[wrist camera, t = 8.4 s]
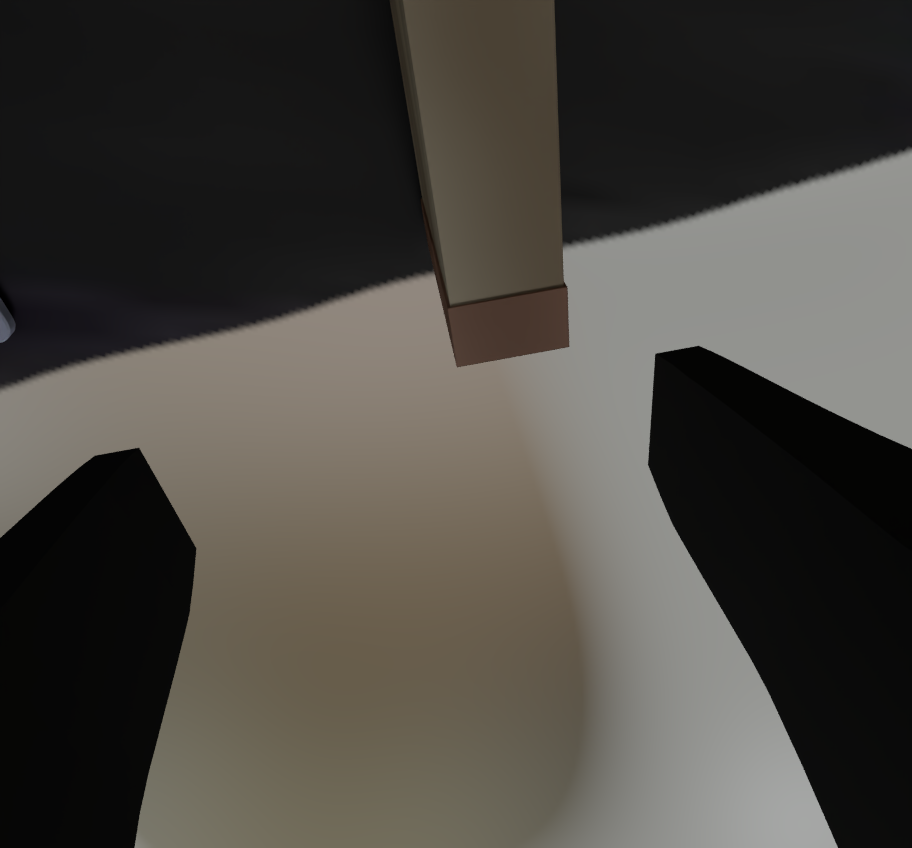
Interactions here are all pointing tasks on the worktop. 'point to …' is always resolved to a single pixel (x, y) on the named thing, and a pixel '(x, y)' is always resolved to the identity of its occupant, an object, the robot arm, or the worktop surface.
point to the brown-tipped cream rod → (488, 168)
